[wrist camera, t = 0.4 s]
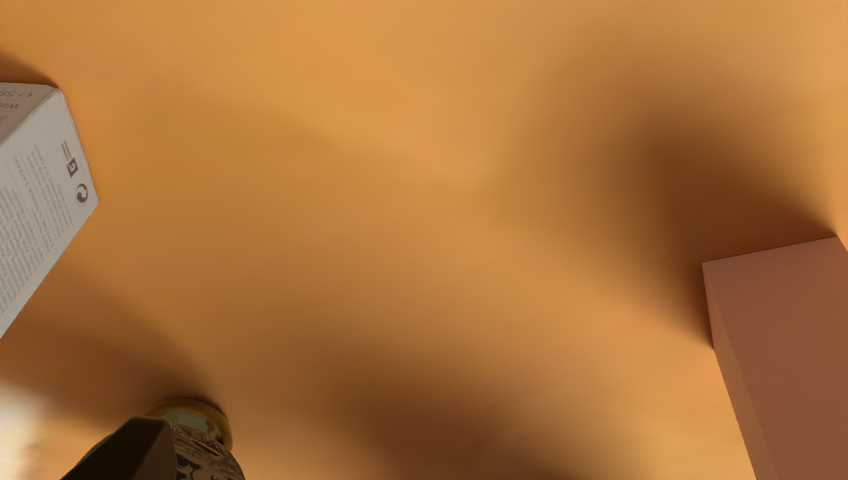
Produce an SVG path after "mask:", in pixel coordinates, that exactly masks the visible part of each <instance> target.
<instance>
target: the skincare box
mask: <svg viewBox="0 0 848 480" xmlns="http://www.w3.org/2000/svg"><path fill="white" fill-rule="evenodd" d="M97 205H98V197H97V194H96V191H95V188H94V184H93V181H92V177H91V174H90V171H89V167H88V164H87V161H86V158H85V155H84V153H83V150H82V147H81V144H80V141H79V137H78V134H77V132H76V128H75V125H74V122H73V120H72V117H71V114H70V112H69V109H68V106H67V103H66V100H65V97H64V95H63V93H62V91H61V90H60V89H59V88H54V87H50V86H48V85H40V84H25V83H5V82H0V339H1V337H2V336H3V334H4V333H5V331H6V330H7V329H8V327H9V326H10V325H11V323H12V322H13V321H14V319H15V318H16V317H17V315H18V314H19V312H20V311H21V310H22V308H23V307H24V306H25V304H26V303H27V301H28V300H29V299H30V297H31V296H32V295H33V293H34V292H35V290H36V289H37V288H38V286H39V285H40V284H41V282H42V281H43V279H44V278H45V277H46V275H47V274H48V273H49V271H50V270H51V268H52V267H53V266H54V264H55V263H56V262H57V260H58V259H59V258H60V256H61V255H62V253H63V252H64V251H65V249H66V248H67V247H68V245H69V244H70V242H71V241H72V239H73V238H74V237H75V235H76V234H77V233H78V232H79V230H80V229H81V227H82V226H83V224H84V223H85V222H86V220H87V219H88V218H89V216H90V215H91V213H92V212H93V211H94V209H95V208H96V206H97Z"/></svg>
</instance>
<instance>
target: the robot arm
mask: <svg viewBox="0 0 848 480" xmlns="http://www.w3.org/2000/svg"><path fill="white" fill-rule="evenodd" d="M176 474H177V457H176V452H175V446H174V440H173V434H172V429H171V425H170V423H169V421H168V420H167V419H165V418H159V417H150V416H135V417H132V418H130V419H129V420H128V421H126V422H125V423H124V424H123V425H122V426H121V427H120V428H118V429H117V430H116V431H115V432H114V433H113V434H111V435H110V436H109V437H108V438H107V439H106V440H105V441H103V442H102V443H101V444H100V445H99V446H98V447H97V448H95V449H94V450H93V451H92V452H91V453H90V454H89V455H87V456H86V457H85V458H84V459H83V460H82V461H81V462H79V463H78V464H77V465H76V466H75V467H74V468H73V469H71V470H70V471H69V472H68V473H67V474H66V475H65V476H63V477H62V478H61V479H60V480H176Z"/></svg>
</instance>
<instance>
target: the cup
mask: <svg viewBox="0 0 848 480" xmlns="http://www.w3.org/2000/svg"><path fill="white" fill-rule="evenodd" d="M143 416H150V417H159V418H165V419H167V420H168V421H169V423H170V425H171V429H172V434H173V440H174V446H175V452H176V457H177V474H176V480H245V477H244V474H243V472H242V470H241V468H240V466H239V464H238V462H237V461H236V460H235V458H234V457H233V455H232V454H231V451H232V447H233V439H232V432H231V428H230V425H229V423H228V421H227V420H226V418H225V417H224V416H223V415H222V414H221V413H220V412H219V411H218V410H216V409H215V408H213V407H212V406H210V405H208V404H206V403H203V402H201V401H198V400H194V399H188V398H172V399H167V400H164V401H161V402H159V403H158V404H156V405H155V406H153V407H152V408H151V409H149V410H148V411H147V412H146V413H145V414H144V415H143ZM112 434H113V433H112ZM109 436H110V435H109ZM109 436H107V437H105V438H104V439H103V440H101V441H100V442H99V443H97V444H96V445H95V446H94V447H92V448H91V449H90V450H89V451H88V452H87V453H86V455H85V456H84V457H83V458H82V459H81V460H80V461H79V462H81V461H82V460H83V459H84V458H85V457H86V456H87V455H89V454H90V453H91V452H92V451H93V450H94V449H95V448H97V447H98V446H99V445H100V444H101V443H102V442H103V441H105V440H106V439H107V438H108V437H109ZM79 462H78V463H79ZM78 463H77V464H78Z"/></svg>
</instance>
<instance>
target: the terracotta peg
mask: <svg viewBox="0 0 848 480" xmlns="http://www.w3.org/2000/svg"><path fill="white" fill-rule="evenodd" d="M702 269H703V276H704V283H705V290H706V297H707V304H708V311H709V318H710V325H711V332H712V339H713V347H714V352H715V355H716V358H717V361H718V364H719V367H720V370H721V373H722V376H723V379H724V382H725V385H726V388H727V391H728V394H729V397H730V400H731V403H732V406H733V409H734V412H735V415H736V419H737V422H738V425H739V428H740V431H741V434H742V437H743V440H744V443H745V446H746V449H747V452H748V455H749V458H750V461H751V464H752V467H753V470H754V473H755V476H756V479H757V480H848V252H847V250H846V248H845V247H844V245H843V244H842V242H841V240H840V239H839V237H838V236H836V237H831V238H825V239H820V240H815V241H810V242H805V243H800V244H795V245H790V246H784V247H779V248H774V249H769V250H764V251H759V252H754V253H749V254H743V255H738V256H733V257H728V258H723V259H718V260H713V261H708V262H702Z"/></svg>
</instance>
